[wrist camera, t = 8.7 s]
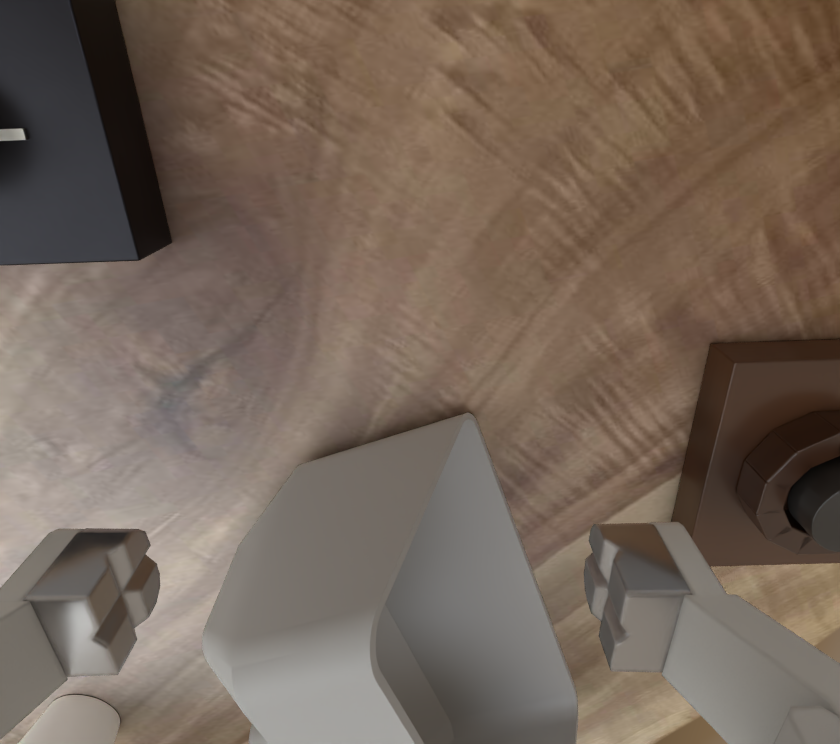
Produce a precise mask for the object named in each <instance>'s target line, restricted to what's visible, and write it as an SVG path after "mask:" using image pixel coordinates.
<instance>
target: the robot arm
mask: <svg viewBox="0 0 840 744" xmlns="http://www.w3.org/2000/svg"><path fill="white" fill-rule="evenodd" d="M589 543H590V545H591V548H592V551H593V553H592V554H591V555H590V556H589V557H587V558H586V561H585V569H584V583H585V592H586V597H587V601H588V604H589V608H590V611H591V613H592V614H593V615H594V616H595V617H596V618H597V619H598V620H600V621H601V626H600V631H599V638H600V641H601V644H602V647H603V650H604V653H605V655H606V658H607V661H608V664H609V667H610V670H611V671H624V672H663V673H662V676H663V677H664V678H665V679H666V680H667V681H668V682H669V683H670V684H671V685H672V686H673V687H674V688H675V689H676V690H677V691H678V692H679V693H680V694H681V695H682V696H683V697H684V698H685V699H686V700H687V702H688V703H689V704H690V705H691V706H692V707H693V708H694V709H695V710H696V711H697V712H698V713H699V714H700V715H701V716H702V717H703V718H704V719H705V720H706V721H707V722H708V723H709V724H710V725H711V726H712V727H713V728H714V730H715V731H716V732H717V733H718V734H719V735H720V736H721V737H722V738H723V739H724V740H725V741H726V742H727V743H728V744H840V663H838V662H837V661H835V660H834V659H832V658H831V657H829V656H828V655H826V654H825V653H823V652H822V651H820V650H818V649H817V648H816V647H814V646H813V645H811V644H810V643H808V642H807V641H805V640H804V639H802V638H801V637H799V636H798V635H796V634H795V633H793V632H792V631H790V630H789V629H787V628H786V627H784V626H783V625H781V624H780V623H778V622H777V621H775V620H774V619H772V618H771V617H769V616H768V615H766V614H765V613H763V612H762V611H760V610H759V609H757V608H756V607H754V606H753V605H751V604H750V603H748V602H747V601H745V600H744V599H742V598H741V597H739V596H738V595H727V593H726V592H725V590H724V589H723V587H722V585H721V584H720V582H719V581H718V579H717V578H716V576H715V574H714V573H713V571H712V570H711V568H710V566H709V565H708V563H707V562H706V560H705V559H704V557H703V555H702V554H701V552H700V551H699V549H698V548H697V546H696V544H695V543H694V541H693V540H692V538H691V537H690V535H689V533H688V532H687V530H686V529H685V527H684V526H683V525H682V524H680V523H679V522H654V523H621V524H593V526H592V528H591V531H590V536H589ZM149 547H150V542H149V540H148V537H147V535H146V532H145V531H142V530H139V529H90V528H86V529H57V530H55V531H53V532H50V533H49V534H48V535H47V536H46V537H45V538H44V539H43V541H42V542H41V543H40V544H39V545H38V546H37V547H36V548H35V550H34V551H33V552H32V553H31V554H30V555H29V556H28V558H27V559H26V560H25V561H24V562H23V563H22V564H21V565H20V567H19V568H18V569H17V570H16V571H15V572H14V573H13V575H12V576H11V577H10V578H9V579H8V580H7V581H6V582H5V584H4V585H3V586H2V587H1V588H0V739H1V738H2V737H4V736H5V735H6V734H7V733H8V732H9V731H10V730H11V729H13V728H14V727H15V726H16V725H17V724H18V723H19V722H20V721H22V720H23V719H24V718H25V717H26V716H27V715H28V714H29V713H31V712H32V711H33V710H34V709H35V708H36V707H37V706H38V705H40V704H41V703H42V702H43V701H44V700H45V699H46V698H47V697H49V696H50V695H51V694H52V693H53V692H54V691H55V690H56V689H58V688H59V687H60V686H61V685H62V684H63V683H64V682H65V681H67V677H75V676H102V675H118V674H119V672H120V670H121V668H122V666H123V665H124V663H125V661H126V659H127V657H128V655H129V653H130V652H131V650H132V648H133V646H134V644H135V642H136V641H137V637H136V633H135V629H134V628H135V627H137V626H138V625H139V624H141V623H142V622H143V621H145V620H146V619H147V618H149V616H150V614H151V612H152V610H153V608H154V606H155V604H156V602H157V598H158V593H159V589H160V573H159V570H158V567H157V564H156V563H155V562H154V561H153V560H152V559H150V558H149V557H148V556H147V555H145V554H146V552H147V550H148V549H149Z"/></svg>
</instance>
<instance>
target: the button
mask: <svg viewBox="0 0 840 744" xmlns="http://www.w3.org/2000/svg"><path fill="white" fill-rule="evenodd" d="M787 504H788V509H789V512H790V513H791V515H792V516H793V517H794V519H795V520H796V521H797V522H798V523H799V524H800V525H801V526H802V527H803V528H804V529H805V530H806V532H807V533H808V534H809V535H810V536H811V537H812V538H813V539H814V540H815V541H816V542H817V543H818V544H819V545H820V546H822V547H823V548H825V549H828V550H830V551H834V552H840V456H839V457H836V458H833V459H831V460H829V461H826V462H824V463H822V464H819V465H817V466H814V467H812V468H810V469H809V470H808V471H807V472H806V473H805V474H804V475H803V476H802V477H801V478H800V479H799V480H798V481H797V482H796V483H795V484H794V485H793V486H792V487H791V489H790V491H789V494H788V499H787Z"/></svg>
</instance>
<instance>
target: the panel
mask: <svg viewBox="0 0 840 744" xmlns="http://www.w3.org/2000/svg"><path fill="white" fill-rule="evenodd" d="M171 243H172V241H171V237H170V233H169V228H168V224H167V220H166V216H165V212H164V207H163V203H162V199H161V195H160V191H159V186H158V182H157V178H156V174H155V170H154V165H153V161H152V157H151V153H150V149H149V144H148V140H147V136H146V132H145V128H144V123H143V119H142V115H141V111H140V107H139V102H138V98H137V94H136V90H135V86H134V81H133V77H132V73H131V69H130V65H129V60H128V56H127V52H126V48H125V44H124V39H123V35H122V31H121V27H120V23H119V18H118V14H117V10H116V6H115V2H114V0H0V265H28V264H56V263H84V262H112V261H139V260H141V259H143V258H145V257H147V256H148V255H150V254H152V253H154V252H156V251H158V250H160V249H162V248H163V247H165V246H167V245H169V244H171Z"/></svg>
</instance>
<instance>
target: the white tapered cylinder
mask: <svg viewBox="0 0 840 744" xmlns="http://www.w3.org/2000/svg"><path fill="white" fill-rule="evenodd" d="M119 726H120V717H119V715H118V713H117V712H116V711H115V710H114V709H113V708H112V707H111V706H110V705H108V704H107V703H105V702H103V701H101V700H99V699H96V698H93V697H89V696H84V695H67V696H63V697H60V698H58V699H56V700H54V701H53V702H52V703H51V704H50V706H49V707H48V708H47V709H46V710H45V712H44V713H43V714H42V715H41V716H40V718H39V719H38V720H37V721H36V723H35V724H34V725H33V726H32V727H31V729H30V730H29V731H28V732H27V733H26V735H25V736H24V737H23V738H22V739H21V741H20V742H19V743H18V744H114V742H115V738H116V735H117V732H118V729H119Z"/></svg>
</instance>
